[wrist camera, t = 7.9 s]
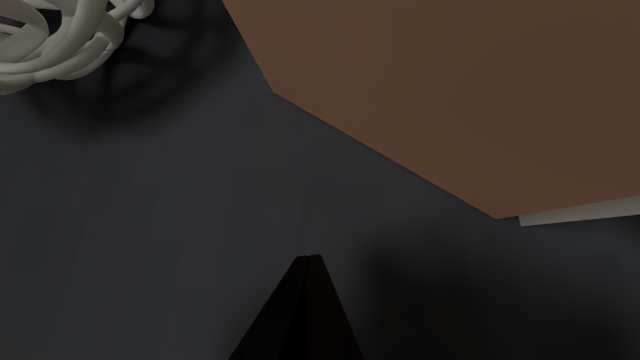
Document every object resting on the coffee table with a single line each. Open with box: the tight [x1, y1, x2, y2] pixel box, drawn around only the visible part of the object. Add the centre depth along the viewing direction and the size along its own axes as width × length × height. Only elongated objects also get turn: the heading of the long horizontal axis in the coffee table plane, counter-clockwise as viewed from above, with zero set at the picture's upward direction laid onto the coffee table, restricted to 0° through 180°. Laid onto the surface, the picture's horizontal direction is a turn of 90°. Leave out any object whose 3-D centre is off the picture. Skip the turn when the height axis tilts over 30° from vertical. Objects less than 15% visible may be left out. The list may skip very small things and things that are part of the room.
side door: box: [222, 0, 640, 219], centre depth 11 cm, size 1×15×13 cm, turn 56°
